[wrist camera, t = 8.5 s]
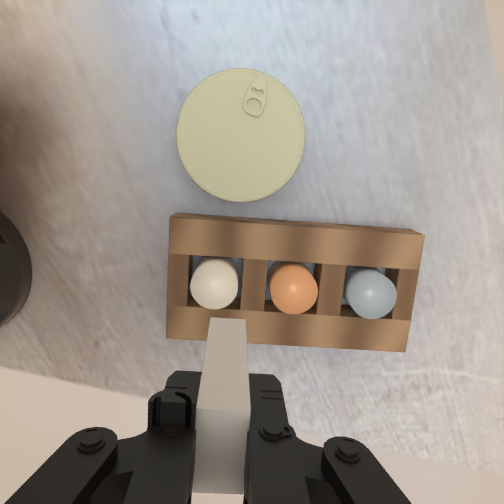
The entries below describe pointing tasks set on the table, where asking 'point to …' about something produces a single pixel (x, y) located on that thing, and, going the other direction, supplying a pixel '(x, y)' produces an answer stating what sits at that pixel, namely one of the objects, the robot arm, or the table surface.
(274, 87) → the can
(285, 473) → the robot arm
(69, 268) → the table surface
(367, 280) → the blue-grey egg
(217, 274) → the white egg
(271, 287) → the orange egg
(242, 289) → the wooden egg holder
